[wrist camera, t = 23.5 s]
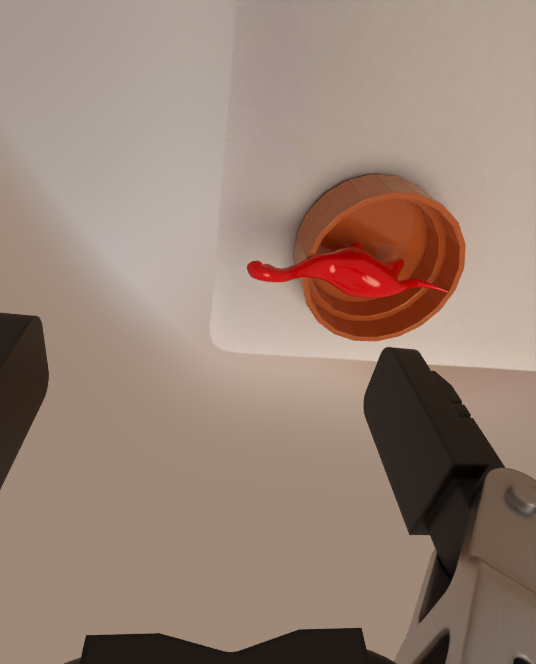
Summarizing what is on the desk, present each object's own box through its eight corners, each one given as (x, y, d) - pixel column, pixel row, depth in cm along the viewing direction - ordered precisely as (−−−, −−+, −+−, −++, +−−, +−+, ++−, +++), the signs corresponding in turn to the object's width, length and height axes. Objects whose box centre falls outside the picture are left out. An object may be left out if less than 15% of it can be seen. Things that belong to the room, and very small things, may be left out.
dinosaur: (439, 310, 40) (429, 374, 30) (292, 252, 43) (237, 291, 33) (459, 271, 38) (455, 326, 28) (303, 214, 41) (248, 243, 31)
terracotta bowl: (263, 255, 42) (269, 285, 37) (373, 137, 36) (397, 153, 31) (358, 330, 48) (373, 364, 43) (464, 237, 42) (495, 264, 38)
